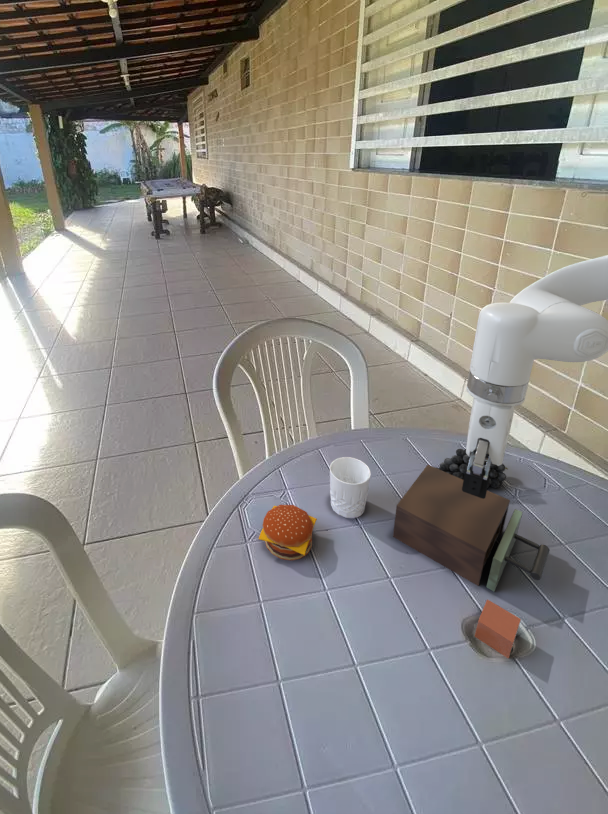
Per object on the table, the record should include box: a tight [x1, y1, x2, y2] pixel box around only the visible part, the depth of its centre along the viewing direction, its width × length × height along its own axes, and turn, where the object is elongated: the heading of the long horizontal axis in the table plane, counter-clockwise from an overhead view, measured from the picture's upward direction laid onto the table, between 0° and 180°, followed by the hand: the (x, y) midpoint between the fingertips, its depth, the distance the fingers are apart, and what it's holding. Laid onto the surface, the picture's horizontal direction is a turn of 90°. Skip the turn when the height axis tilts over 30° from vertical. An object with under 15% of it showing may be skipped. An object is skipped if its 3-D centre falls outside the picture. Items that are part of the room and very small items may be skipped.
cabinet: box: [392, 464, 511, 587], centre depth 78 cm, size 15×15×9 cm
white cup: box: [329, 456, 372, 519], centre depth 86 cm, size 8×8×10 cm
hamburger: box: [258, 504, 318, 561], centre depth 80 cm, size 9×10×7 cm
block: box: [474, 598, 522, 659], centre depth 62 cm, size 4×4×4 cm
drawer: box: [483, 508, 551, 593], centre depth 75 cm, size 18×13×7 cm
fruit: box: [436, 448, 509, 489], centre depth 92 cm, size 9×8×15 cm
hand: (478, 475), depth 69 cm, fingers open, 9 cm apart
